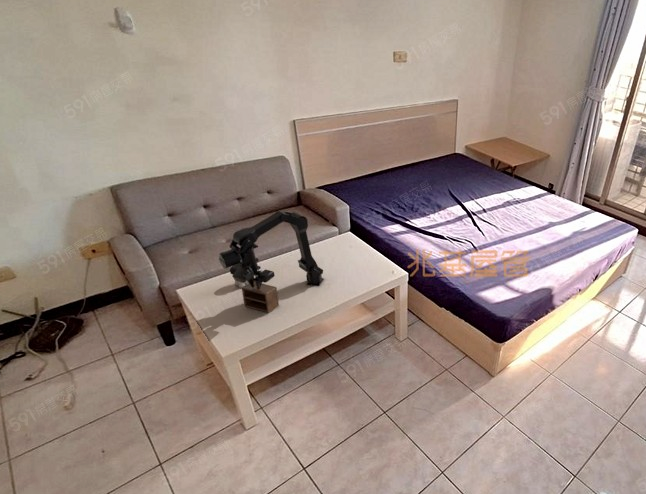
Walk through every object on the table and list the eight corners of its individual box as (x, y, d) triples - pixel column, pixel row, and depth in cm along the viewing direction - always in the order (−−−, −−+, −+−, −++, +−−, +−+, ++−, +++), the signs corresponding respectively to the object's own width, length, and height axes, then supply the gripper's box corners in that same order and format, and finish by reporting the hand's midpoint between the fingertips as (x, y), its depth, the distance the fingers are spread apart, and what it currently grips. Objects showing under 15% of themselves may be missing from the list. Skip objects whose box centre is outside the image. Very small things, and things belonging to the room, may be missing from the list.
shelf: (251, 272, 188) (240, 278, 182) (275, 278, 186) (264, 285, 180) (255, 299, 195) (244, 306, 189) (278, 305, 192) (268, 312, 186)
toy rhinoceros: (263, 279, 209) (260, 265, 204) (240, 290, 200) (236, 276, 196) (255, 274, 212) (252, 260, 207) (232, 284, 204) (228, 270, 199)
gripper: (215, 263, 171) (225, 293, 180) (253, 273, 167) (261, 303, 176) (235, 250, 180) (243, 279, 189) (271, 259, 176) (278, 288, 185)
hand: (256, 287), depth 184 cm, fingers closed on shelf, 3 cm apart
